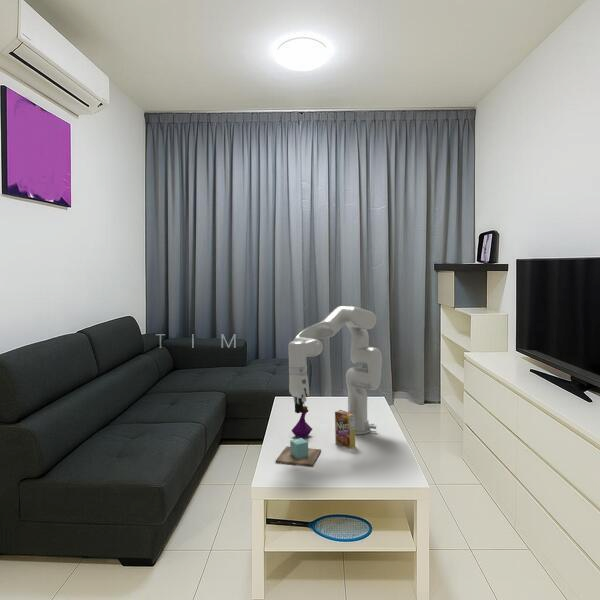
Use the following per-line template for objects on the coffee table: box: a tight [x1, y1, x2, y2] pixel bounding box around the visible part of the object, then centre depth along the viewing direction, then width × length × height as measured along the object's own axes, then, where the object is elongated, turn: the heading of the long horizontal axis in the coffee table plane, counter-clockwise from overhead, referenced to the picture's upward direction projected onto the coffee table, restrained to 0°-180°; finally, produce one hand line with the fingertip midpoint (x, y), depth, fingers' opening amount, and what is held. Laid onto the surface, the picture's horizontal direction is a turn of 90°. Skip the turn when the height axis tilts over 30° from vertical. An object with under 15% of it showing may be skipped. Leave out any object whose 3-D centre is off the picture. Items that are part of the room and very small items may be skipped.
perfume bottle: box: [291, 401, 313, 439], centre depth 221 cm, size 8×8×18 cm
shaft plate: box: [274, 445, 322, 468], centre depth 197 cm, size 16×16×4 cm
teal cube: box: [289, 437, 309, 458], centre depth 197 cm, size 6×6×6 cm
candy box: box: [334, 409, 356, 449], centre depth 210 cm, size 9×4×15 cm, turn 45°
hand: (299, 412), depth 196 cm, fingers closed
